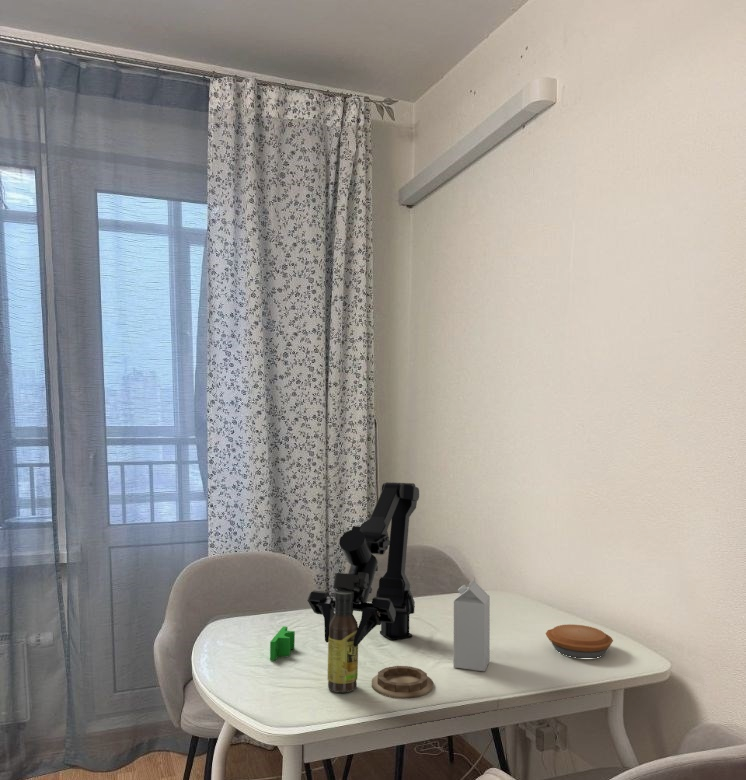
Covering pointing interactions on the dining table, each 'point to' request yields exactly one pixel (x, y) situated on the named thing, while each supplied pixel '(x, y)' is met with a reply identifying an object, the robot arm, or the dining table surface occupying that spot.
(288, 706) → the dining table surface
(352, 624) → the sauce bottle
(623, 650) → the dining table surface
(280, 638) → the pipe clamp
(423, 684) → the ring holder
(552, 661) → the dining table surface
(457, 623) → the milk carton
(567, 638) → the pie
